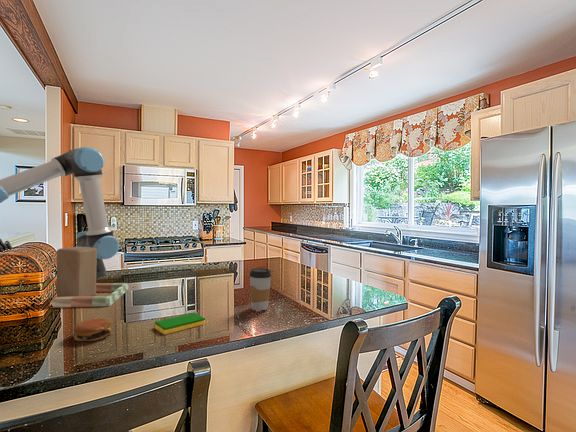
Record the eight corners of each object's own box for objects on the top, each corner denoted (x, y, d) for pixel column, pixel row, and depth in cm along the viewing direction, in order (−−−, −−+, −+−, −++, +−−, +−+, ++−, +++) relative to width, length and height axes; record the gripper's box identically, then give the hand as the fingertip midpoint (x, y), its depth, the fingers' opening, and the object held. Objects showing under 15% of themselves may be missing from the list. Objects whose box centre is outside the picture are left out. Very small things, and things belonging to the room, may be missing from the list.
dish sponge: (205, 325, 106) (205, 318, 106) (164, 336, 96) (164, 328, 96) (194, 319, 111) (194, 312, 111) (154, 329, 101) (154, 321, 101)
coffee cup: (274, 309, 124) (276, 270, 123) (257, 313, 118) (259, 273, 117) (260, 304, 129) (262, 267, 129) (243, 308, 124) (245, 269, 123)
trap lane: (78, 290, 140) (78, 283, 140) (128, 289, 144) (128, 283, 144) (49, 307, 116) (49, 299, 116) (109, 306, 120) (109, 298, 120)
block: (76, 302, 123) (77, 250, 123) (54, 300, 125) (55, 248, 125) (96, 295, 133) (98, 247, 132) (76, 293, 135) (77, 246, 134)
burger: (70, 335, 93) (70, 319, 93) (106, 328, 100) (106, 313, 100) (77, 347, 86) (77, 329, 86) (115, 338, 93) (116, 322, 92)
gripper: (-17, 236, 127) (30, 278, 131) (-44, 239, 114) (9, 286, 118) (-1, 223, 128) (45, 265, 132) (-26, 225, 115) (26, 272, 119)
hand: (28, 275), depth 125 cm, fingers closed
